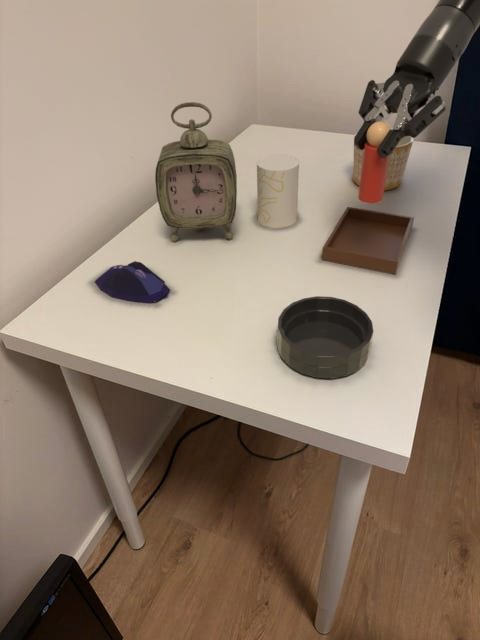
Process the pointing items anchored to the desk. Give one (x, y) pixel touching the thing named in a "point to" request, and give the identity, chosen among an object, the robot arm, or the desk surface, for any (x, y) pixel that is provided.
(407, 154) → the planter
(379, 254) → the tray
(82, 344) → the desk surface
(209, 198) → the tabletop clock
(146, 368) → the desk surface
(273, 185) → the white cylinder
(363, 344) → the pan
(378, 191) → the doll
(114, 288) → the computer mouse
